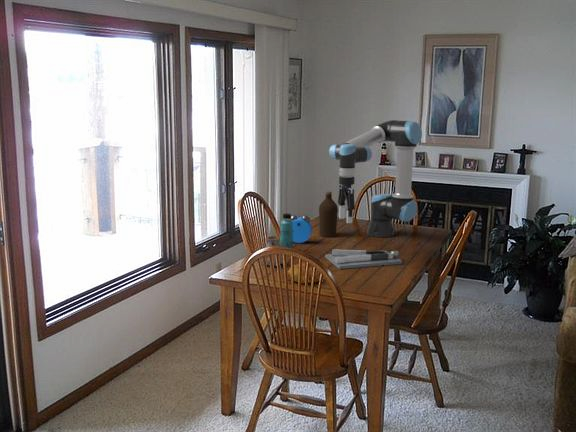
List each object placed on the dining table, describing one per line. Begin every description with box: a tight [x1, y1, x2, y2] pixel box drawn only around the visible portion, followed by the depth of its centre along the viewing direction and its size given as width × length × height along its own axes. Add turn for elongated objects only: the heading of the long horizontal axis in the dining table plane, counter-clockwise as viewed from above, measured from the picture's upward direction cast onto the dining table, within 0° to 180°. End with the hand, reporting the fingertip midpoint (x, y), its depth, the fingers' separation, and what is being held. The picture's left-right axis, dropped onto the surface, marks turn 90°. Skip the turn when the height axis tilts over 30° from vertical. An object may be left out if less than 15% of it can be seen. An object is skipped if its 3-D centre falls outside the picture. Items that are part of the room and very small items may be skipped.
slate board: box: [324, 249, 403, 270], centre depth 298 cm, size 32×20×2 cm, turn 106°
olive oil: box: [318, 190, 339, 238], centre depth 343 cm, size 11×11×25 cm
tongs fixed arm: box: [335, 249, 399, 263], centre depth 293 cm, size 33×5×3 cm, turn 106°
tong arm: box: [331, 248, 388, 256], centre depth 300 cm, size 26×3×2 cm, turn 86°
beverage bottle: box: [279, 212, 294, 249], centre depth 310 cm, size 6×7×20 cm
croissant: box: [287, 262, 320, 285], centre depth 269 cm, size 14×16×8 cm
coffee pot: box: [261, 235, 283, 267], centre depth 285 cm, size 21×12×15 cm, turn 0°
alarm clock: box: [288, 214, 313, 244], centre depth 330 cm, size 13×6×15 cm, turn 82°
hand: (345, 220), depth 304 cm, fingers open, 10 cm apart
